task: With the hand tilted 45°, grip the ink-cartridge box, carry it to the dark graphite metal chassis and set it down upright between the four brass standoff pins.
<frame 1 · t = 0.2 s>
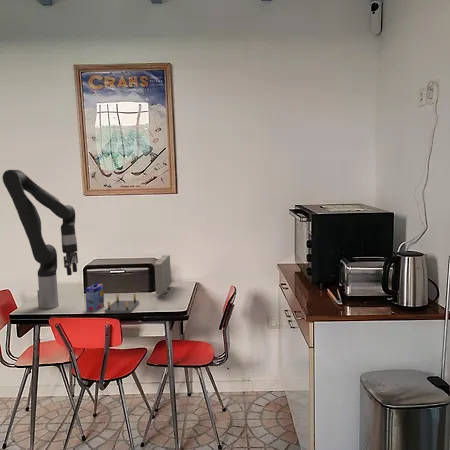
hand: (72, 273, 234), 18 cm above the table, tool pointing down, fingers open, 8 cm apart
ink cartridge box: (95, 309, 231), on the table
chassis: (122, 308, 231), on the table
network device: (163, 292, 260), on the table
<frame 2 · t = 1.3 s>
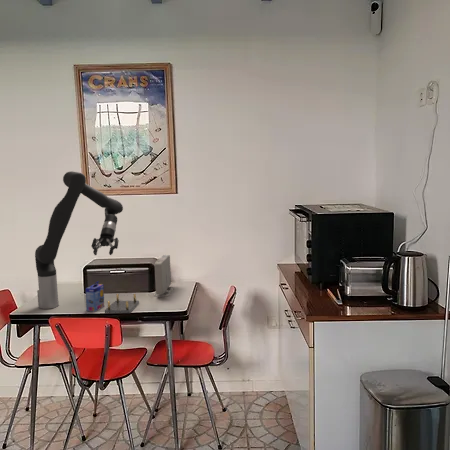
hand: (102, 254, 242), 26 cm above the table, tool tilted 45°, fingers open, 8 cm apart
nothing on the table moved.
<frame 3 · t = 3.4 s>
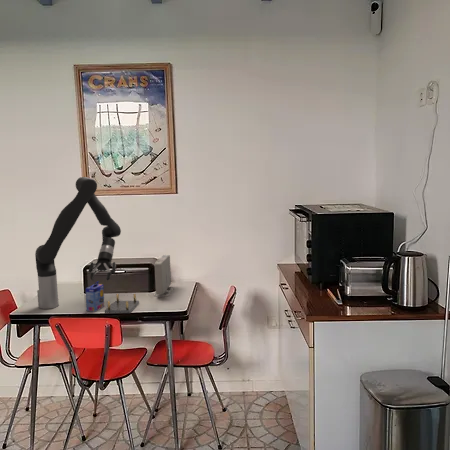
hand: (99, 279, 237), 14 cm above the table, tool tilted 45°, fingers open, 8 cm apart
nothing on the table moved.
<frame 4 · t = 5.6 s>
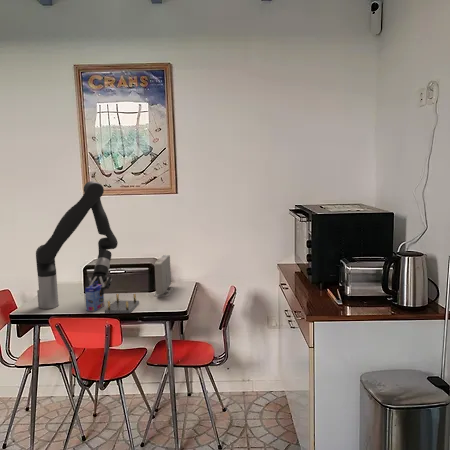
hand: (95, 294, 230), 7 cm above the table, tool tilted 45°, fingers closed on ink cartridge box, 5 cm apart
ink cartridge box: (95, 309, 231), on the table, touching gripper
everything else where it was.
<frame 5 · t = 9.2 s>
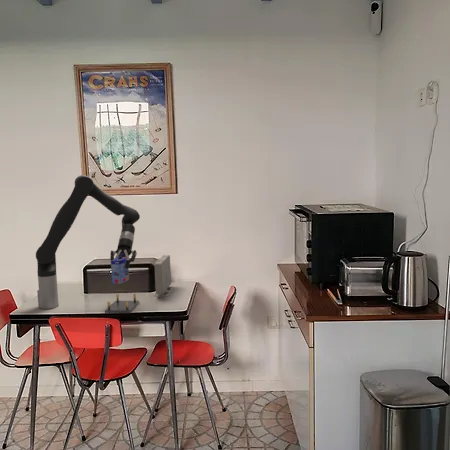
hand: (120, 267, 229), 21 cm above the table, tool tilted 45°, fingers closed on ink cartridge box, 5 cm apart
ink cartridge box: (121, 282, 229), point 14 cm above the table, touching gripper
everything else where it was.
when the fingers open (10 cm above the table, at t = 12.6 s): ink cartridge box stays where it is, resting on chassis.
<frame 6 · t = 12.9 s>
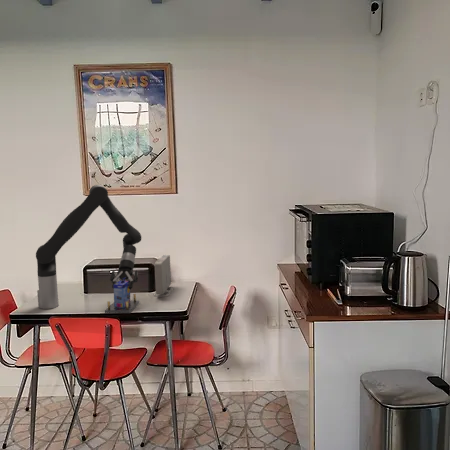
hand: (121, 288, 230), 10 cm above the table, tool tilted 45°, fingers open, 8 cm apart
ink cartridge box: (122, 305, 231), point 1 cm above the table, touching chassis
everything else where it was.
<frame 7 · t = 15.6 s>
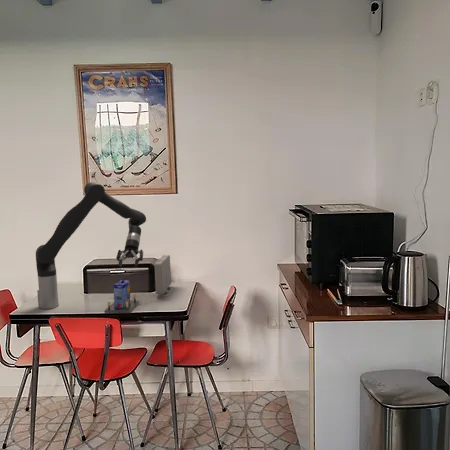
hand: (127, 266, 241), 19 cm above the table, tool tilted 45°, fingers open, 8 cm apart
nothing on the table moved.
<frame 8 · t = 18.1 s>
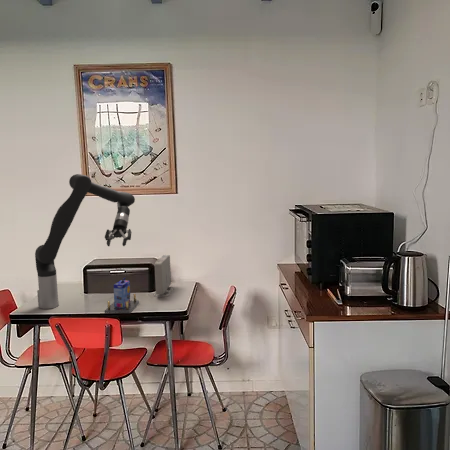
hand: (115, 245, 243), 31 cm above the table, tool tilted 45°, fingers open, 8 cm apart
nothing on the table moved.
at the end: ink cartridge box 0.3 cm off-centre on the chassis, point 1.3 cm above the chassis's base; ink cartridge box tilted 0°; the gripper is holding nothing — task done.
